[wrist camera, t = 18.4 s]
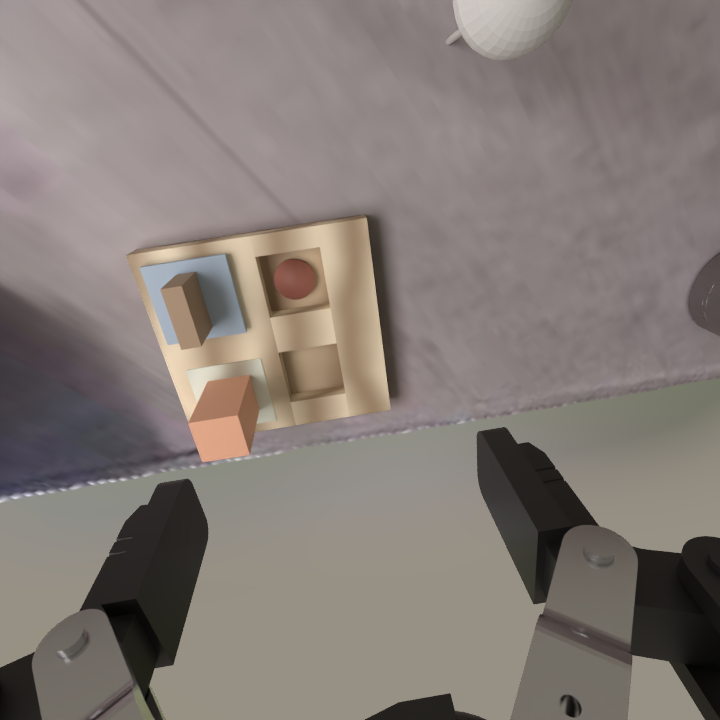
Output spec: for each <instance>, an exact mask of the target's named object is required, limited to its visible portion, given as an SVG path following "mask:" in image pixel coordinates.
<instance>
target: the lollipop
mask: <svg viewBox="0 0 720 720" xmlns="http://www.w3.org/2000/svg"><path fill="white" fill-rule="evenodd" d="M571 2H572V0H453V8H454V13H455V19H456V22H457V25H458V28H459V29H458V30H457V31H456V32H454V33H453V34H452V35H451V36H450V37H448V38H447V40H446V43H447V45H450V44H452V43H453V42H454V41H455V40H457V39H458V38H459V37H461V36H463V38H464V40H465V41H466V42H467V44H468V45H469V46H470V47H471V48H472V49H473V50H475V51H476V52H477V53H479V54H480V55H482V56H484V57H487V58H489V59H493V60H509V59H515V58H518V57H521V56H524V55H526V54H528V53H530V52H532V51H533V50H535V49H537V48H538V47H539V46H541V45H542V44H543V43H544V42H545V41H547V40H548V39H549V38H550V37H551V36H552V35H553V34H554V32H555V31H556V30H557V29H558V28H559V26H560V25H561V23H562V21H563V20H564V18H565V16H566V14H567V12H568V10H569V7H570V5H571Z"/></svg>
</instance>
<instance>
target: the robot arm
mask: <svg viewBox="0 0 720 720" xmlns="http://www.w3.org/2000/svg"><path fill="white" fill-rule="evenodd" d="M689 310H690V314H691V316H692V318H693V320H694V321H695V322H696V323H697V325H699V326H701V327H702V328H704V329H706V330H708V331H710V332H713V333H715V334H717V335H719V336H720V254H718V255H717V256H716V257H714V258H713V259H712V260H711V261H710V262H709V263H708V264H707V265H706V266H705V267H704V268H703V270H702V271H701V272H700V274H699V275H698V276H697V278H696V280H695V282H694V284H693V286H692V289H691V293H690V297H689ZM477 467H478V468H477V471H478V481H479V486H480V490H481V493H482V496H483V498H484V500H485V502H486V504H487V506H488V509H489V511H490V513H491V515H492V517H493V519H494V521H495V523H496V526H497V527H498V530H499V532H500V534H501V536H502V538H503V540H504V542H505V545H506V546H507V549H508V551H509V553H510V555H511V557H512V559H513V561H514V564H515V566H516V568H517V570H518V572H519V574H520V576H521V578H522V581H523V582H524V585H525V587H526V589H527V591H528V593H529V595H530V598H531V600H532V602H533V604H539V603H544V602H546V604H545V608H544V612H543V614H542V615H541V614H540V615H539V618H538V621H537V623H536V627H535V630H534V635H533V638H532V642H531V645H530V649H529V653H528V656H527V660H526V664H525V667H524V671H523V675H522V678H521V682H520V686H519V689H518V693H517V697H516V701H515V704H514V708H513V712H512V716H511V719H510V720H627V717H628V706H629V694H630V683H631V671H632V655H635V656H641V657H647V658H653V659H659V660H665V661H669V662H670V664H671V665H672V667H673V668H674V670H675V672H676V673H677V675H678V677H679V678H680V680H681V681H682V683H683V684H684V686H685V688H686V689H687V691H688V693H689V694H690V696H691V698H692V699H693V701H694V702H695V704H696V706H697V707H698V709H699V710H700V712H701V714H702V715H703V717H704V718H705V720H720V538H716V537H708V536H704V537H696V538H693V539H690V540H689V541H687V542H686V543H685V545H684V546H683V549H682V553H673V552H663V551H654V550H646V549H640V548H636V547H632V546H631V545H630V544H629V543H628V542H627V541H626V540H625V539H624V538H623V537H622V536H620V535H618V534H617V533H615V532H613V531H611V530H609V529H607V528H604V527H600V526H599V525H598V524H597V523H596V521H595V520H594V519H593V517H592V516H591V515H590V513H589V512H588V510H587V509H586V508H585V506H584V505H583V504H582V502H581V501H580V500H579V498H578V497H577V496H576V494H575V493H574V492H573V490H572V489H571V488H570V486H569V485H568V484H567V482H566V481H564V479H563V477H562V476H561V474H560V473H559V471H558V470H556V469H555V466H554V465H553V463H552V462H551V461H550V459H549V458H548V457H547V455H546V454H545V453H544V452H543V451H541V450H539V449H538V448H537V447H535V446H533V445H532V444H530V443H529V442H527V443H521V444H517V443H516V441H515V440H514V438H513V437H512V435H511V434H510V432H509V431H508V429H506V428H505V427H502V428H496V429H491V430H484V431H479V432H478V433H477ZM207 541H208V524H207V519H206V517H205V514H204V512H203V509H202V507H201V504H200V502H199V499H198V497H197V494H196V492H195V489H194V487H193V484H192V482H191V481H190V480H189V479H183V480H176V481H170V482H164V483H160V484H158V485H157V487H156V489H155V491H154V493H153V495H152V497H151V499H150V502H149V503H148V505H142V506H140V507H139V508H138V509H137V510H136V511H135V512H134V513H133V514H132V515H131V516H130V517H129V518H128V519H127V520H126V521H125V523H124V525H123V527H122V529H121V531H120V533H119V535H118V537H117V542H115V543H114V545H113V547H112V549H111V550H110V552H109V557H107V559H106V560H105V562H104V564H103V566H102V568H101V570H100V572H99V574H98V576H97V578H96V580H95V582H94V584H93V586H92V588H91V590H90V592H89V593H88V595H87V598H86V599H85V602H84V603H83V605H82V608H81V609H80V611H79V612H77V613H75V614H73V615H71V616H69V617H67V618H65V619H64V620H63V621H61V622H60V623H58V624H57V625H56V626H55V627H54V628H52V629H51V631H49V632H48V633H47V635H46V636H45V637H44V638H43V639H42V641H41V642H40V644H39V645H38V647H37V649H36V651H35V652H34V653H32V654H30V655H27V656H25V657H23V658H21V659H18V660H16V661H14V662H12V663H10V664H7V665H5V666H3V667H1V668H0V720H165V717H164V715H163V713H162V710H161V708H160V706H159V704H158V701H157V699H156V696H155V694H154V692H153V690H152V688H151V686H150V685H149V684H150V680H151V678H152V674H153V671H154V668H159V667H165V666H170V665H173V664H174V660H175V656H176V653H177V649H178V646H179V642H180V639H181V635H182V632H183V627H184V624H185V621H186V617H187V614H188V610H189V606H190V603H191V599H192V595H193V592H194V588H195V584H196V581H197V577H198V574H199V570H200V567H201V563H202V560H203V556H204V552H205V549H206V545H207ZM365 720H486V719H483V718H481V717H479V716H476V715H472V714H469V713H465V712H458V711H455V710H454V706H453V702H452V698H451V694H444V695H439V696H433V697H427V698H421V699H416V700H410V701H405V702H399V703H397V704H395V705H393V706H391V707H389V708H387V709H385V710H383V711H381V712H379V713H377V714H375V715H373V716H371V717H369V718H367V719H365Z"/></svg>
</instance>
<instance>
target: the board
mask: <svg viewBox="0 0 720 720" xmlns="http://www.w3.org/2000/svg"><path fill="white" fill-rule="evenodd" d="M223 253H226V255H227V259H228V263H229V266H230V270H231V274H232V277H233V281H234V285H235V288H236V292H237V296H238V299H239V303H240V307H241V310H242V314H243V318H244V321H245V325H246V329H247V332H246V333H241V334H235V335H229V336H223V337H216V338H210V339H206V340H205V341H204V343H203V345H202V347H197V348H190V349H184V350H181V348H180V345H179V344H172V345H167V342H166V339H165V336H164V334H163V331H162V328H161V326H160V323H159V320H158V317H157V315H156V312H155V309H154V306H153V304H152V301H151V298H150V295H149V293H148V290H147V287H146V284H145V282H144V279H143V276H142V273H141V271H140V267H141V266H147V265H153V264H159V263H166V262H172V261H179V260H185V259H191V258H198V257H204V256H211V255H217V254H223ZM126 257H127V259H128V262H129V265H130V267H131V270H132V273H133V275H134V278H135V281H136V283H137V286H138V289H139V291H140V294H141V297H142V299H143V302H144V305H145V307H146V310H147V313H148V315H149V318H150V321H151V323H152V326H153V329H154V331H155V334H156V337H157V340H158V342H159V345H160V348H161V350H162V353H163V356H164V358H165V361H166V364H167V366H168V369H169V372H170V374H171V377H172V380H173V382H174V385H175V388H176V390H177V393H178V396H179V398H180V401H181V404H182V406H183V409H184V412H185V414H186V417H187V420H188V422H189V420H190V418H191V416H192V414H193V412H194V409H195V407H196V405H197V403H198V401H199V399H200V397H201V394H202V392H203V390H204V388H205V386H206V384H207V382H208V381H213V380H220V379H226V378H232V377H239V376H245V375H250V378H251V382H252V385H253V389H254V392H255V396H256V400H257V403H258V407H259V414H258V419H257V423H256V428H255V432H258V431H264V430H270V429H276V428H282V427H288V426H294V425H300V424H307V423H313V422H319V421H325V420H331V419H337V418H343V417H349V416H355V415H362V414H368V413H374V412H380V411H386V410H391V409H390V400H389V392H388V384H387V376H386V368H385V360H384V352H383V344H382V336H381V328H380V320H379V312H378V304H377V296H376V288H375V280H374V272H373V264H372V256H371V248H370V240H369V232H368V224H367V218H366V216H365V215H358V216H352V217H346V218H339V219H333V220H326V221H320V222H313V223H307V224H301V225H294V226H288V227H281V228H275V229H268V230H262V231H255V232H249V233H243V234H236V235H230V236H223V237H217V238H210V239H204V240H198V241H191V242H185V243H178V244H172V245H165V246H159V247H153V248H146V249H140V250H135V251H133V252H131V253H129V254H128V255H126Z"/></svg>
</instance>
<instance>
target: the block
mask: <svg viewBox="0 0 720 720" xmlns="http://www.w3.org/2000/svg"><path fill="white" fill-rule="evenodd" d="M258 414H259V407H258V403H257V400H256V396H255V392H254V389H253V385H252V382H251V378H250V375H245V376H239V377H232V378H226V379H220V380H213V381H208V382H207V384H206V386H205V388H204V390H203V392H202V394H201V397H200V399H199V401H198V403H197V405H196V407H195V409H194V412H193V414H192V416H191V418H190V420H189V422H188V424H189V427H190V430H191V432H192V435H193V438H194V441H195V443H196V446H197V449H198V451H199V454H200V457H201V460H202V462H207V461H213V460H220V459H226V458H232V457H238V456H245V455H250V451H251V446H252V442H253V437H254V433H255V428H256V423H257V419H258Z"/></svg>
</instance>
